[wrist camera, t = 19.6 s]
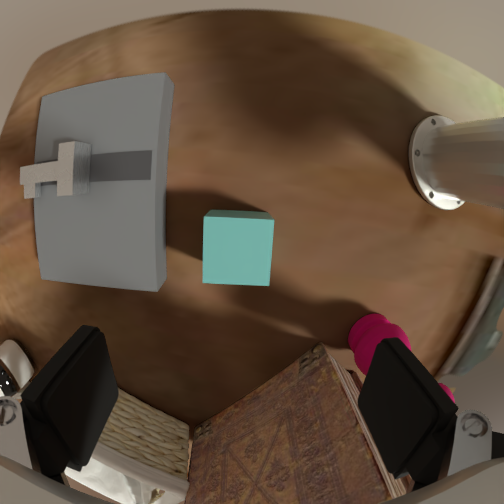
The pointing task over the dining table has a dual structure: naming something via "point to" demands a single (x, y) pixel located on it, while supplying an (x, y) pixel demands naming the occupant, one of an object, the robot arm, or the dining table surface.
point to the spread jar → (14, 368)
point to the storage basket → (138, 456)
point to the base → (107, 184)
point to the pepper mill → (375, 340)
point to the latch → (60, 171)
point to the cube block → (237, 247)
